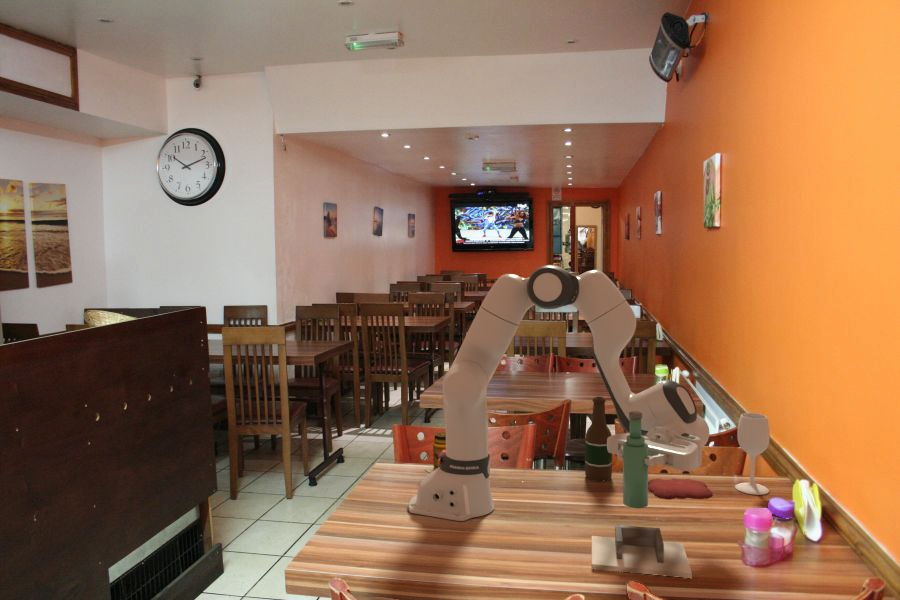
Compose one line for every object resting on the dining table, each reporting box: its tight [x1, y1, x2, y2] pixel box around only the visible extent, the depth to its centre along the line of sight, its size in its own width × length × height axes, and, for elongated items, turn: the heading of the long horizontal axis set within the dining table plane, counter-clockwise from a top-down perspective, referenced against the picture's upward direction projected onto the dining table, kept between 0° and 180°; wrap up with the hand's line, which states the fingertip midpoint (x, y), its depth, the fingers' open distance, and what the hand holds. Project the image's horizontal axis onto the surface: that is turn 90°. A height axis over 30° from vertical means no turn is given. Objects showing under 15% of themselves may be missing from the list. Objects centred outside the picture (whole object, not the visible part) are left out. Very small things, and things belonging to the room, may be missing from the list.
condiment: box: [424, 432, 446, 474], centre depth 199 cm, size 7×8×12 cm
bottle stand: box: [591, 524, 693, 580], centre depth 142 cm, size 20×14×5 cm
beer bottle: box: [584, 396, 613, 482], centre depth 192 cm, size 8×8×24 cm
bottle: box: [622, 411, 649, 509], centre depth 140 cm, size 5×5×20 cm
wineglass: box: [734, 412, 771, 496], centre depth 182 cm, size 9×9×21 cm
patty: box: [648, 478, 714, 500], centre depth 183 cm, size 18×14×2 cm
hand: (633, 459), depth 140 cm, fingers closed on bottle, 5 cm apart
